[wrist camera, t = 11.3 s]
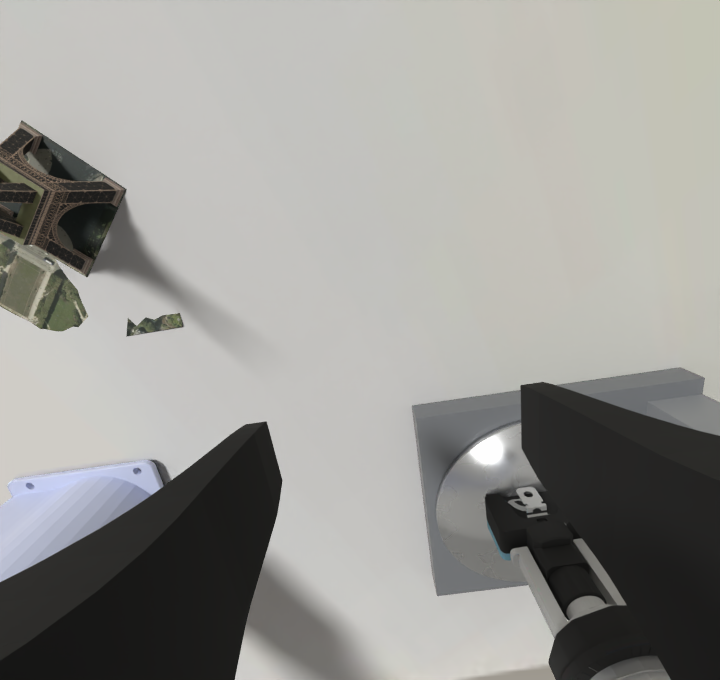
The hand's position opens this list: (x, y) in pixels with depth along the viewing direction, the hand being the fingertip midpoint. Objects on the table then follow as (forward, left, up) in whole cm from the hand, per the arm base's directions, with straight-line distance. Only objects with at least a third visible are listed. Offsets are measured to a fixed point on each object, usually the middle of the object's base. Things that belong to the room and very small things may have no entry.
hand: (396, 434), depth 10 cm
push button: (+8, -12, -9) cm, 16 cm away
